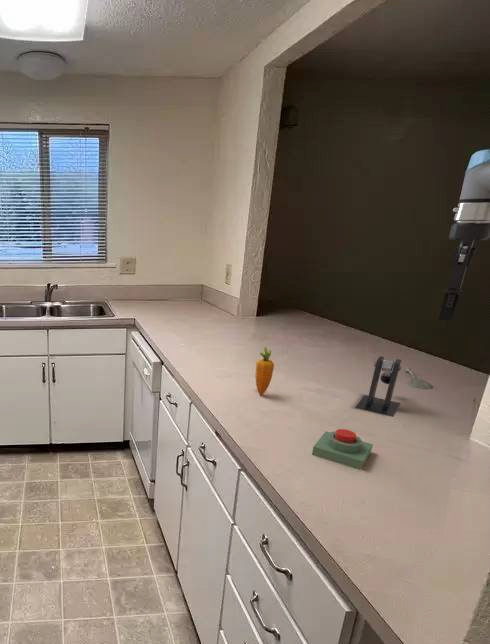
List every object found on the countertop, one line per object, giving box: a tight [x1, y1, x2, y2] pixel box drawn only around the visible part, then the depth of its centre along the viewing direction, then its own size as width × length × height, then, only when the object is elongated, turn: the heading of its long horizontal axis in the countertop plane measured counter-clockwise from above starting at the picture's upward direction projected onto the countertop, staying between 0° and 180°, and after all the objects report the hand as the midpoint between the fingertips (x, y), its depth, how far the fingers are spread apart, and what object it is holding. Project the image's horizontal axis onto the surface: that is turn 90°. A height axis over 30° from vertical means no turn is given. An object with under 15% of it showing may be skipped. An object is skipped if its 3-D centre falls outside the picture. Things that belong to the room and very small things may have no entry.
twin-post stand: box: [354, 355, 402, 418], centre depth 120 cm, size 12×9×15 cm
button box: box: [311, 430, 374, 470], centre depth 100 cm, size 10×10×4 cm
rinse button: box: [335, 428, 357, 443], centre depth 99 cm, size 4×4×2 cm
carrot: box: [255, 346, 275, 396], centre depth 131 cm, size 5×5×15 cm
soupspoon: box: [404, 366, 433, 390], centre depth 143 cm, size 22×3×7 cm
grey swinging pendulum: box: [380, 359, 395, 385], centre depth 123 cm, size 13×4×4 cm
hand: (445, 319), depth 112 cm, fingers closed
